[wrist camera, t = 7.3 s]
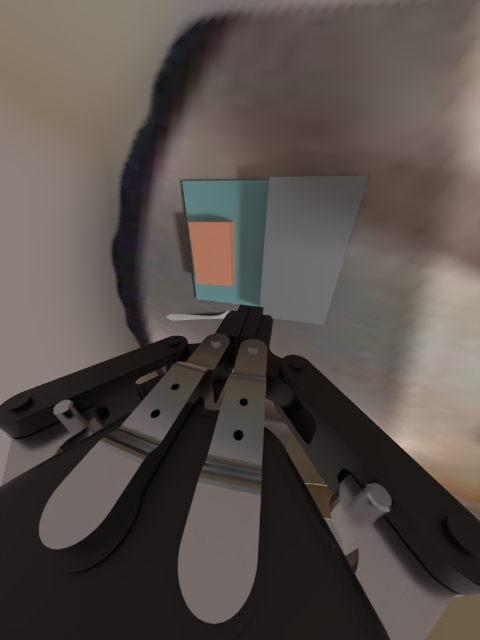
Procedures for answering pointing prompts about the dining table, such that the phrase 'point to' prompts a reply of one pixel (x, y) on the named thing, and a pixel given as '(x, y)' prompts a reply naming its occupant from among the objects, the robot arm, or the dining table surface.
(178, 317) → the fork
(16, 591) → the robot arm
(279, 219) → the panel
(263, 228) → the mat
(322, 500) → the plant pot
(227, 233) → the tile
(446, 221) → the dining table surface
